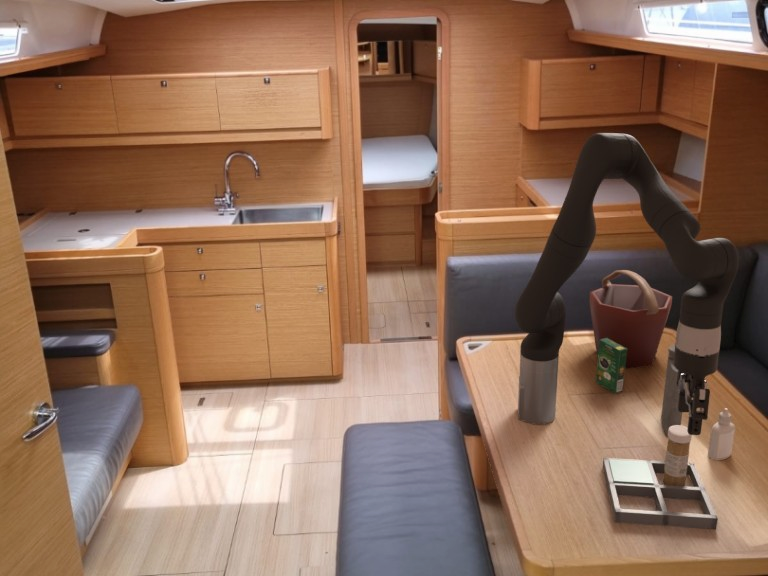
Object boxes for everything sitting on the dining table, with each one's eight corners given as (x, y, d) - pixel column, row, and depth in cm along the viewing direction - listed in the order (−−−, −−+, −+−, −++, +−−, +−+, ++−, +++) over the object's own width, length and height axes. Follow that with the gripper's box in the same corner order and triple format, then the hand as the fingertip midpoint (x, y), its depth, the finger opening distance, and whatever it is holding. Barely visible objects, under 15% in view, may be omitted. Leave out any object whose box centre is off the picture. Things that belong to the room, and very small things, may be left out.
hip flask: (679, 440, 171) (689, 363, 164) (661, 437, 172) (670, 361, 165) (676, 407, 185) (685, 335, 178) (659, 405, 186) (667, 334, 179)
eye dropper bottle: (735, 460, 162) (743, 413, 158) (710, 461, 162) (717, 414, 158) (727, 450, 166) (734, 403, 162) (702, 450, 166) (709, 404, 162)
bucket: (580, 339, 226) (585, 263, 218) (652, 338, 225) (660, 261, 217) (600, 374, 203) (606, 291, 195) (680, 373, 202) (690, 289, 194)
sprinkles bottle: (676, 477, 157) (683, 422, 153) (689, 489, 153) (696, 433, 148) (657, 480, 156) (663, 425, 152) (670, 492, 152) (676, 437, 148)
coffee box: (624, 392, 193) (628, 347, 189) (615, 395, 192) (619, 350, 188) (603, 380, 200) (606, 336, 196) (594, 382, 199) (598, 339, 194)
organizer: (614, 522, 144) (615, 510, 143) (602, 467, 161) (603, 456, 160) (716, 529, 141) (718, 517, 140) (692, 472, 159) (693, 461, 158)
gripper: (668, 329, 141) (661, 403, 146) (684, 360, 128) (675, 441, 133) (709, 330, 140) (700, 405, 145) (729, 362, 126) (719, 443, 132)
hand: (688, 422), depth 139 cm, fingers open, 8 cm apart
